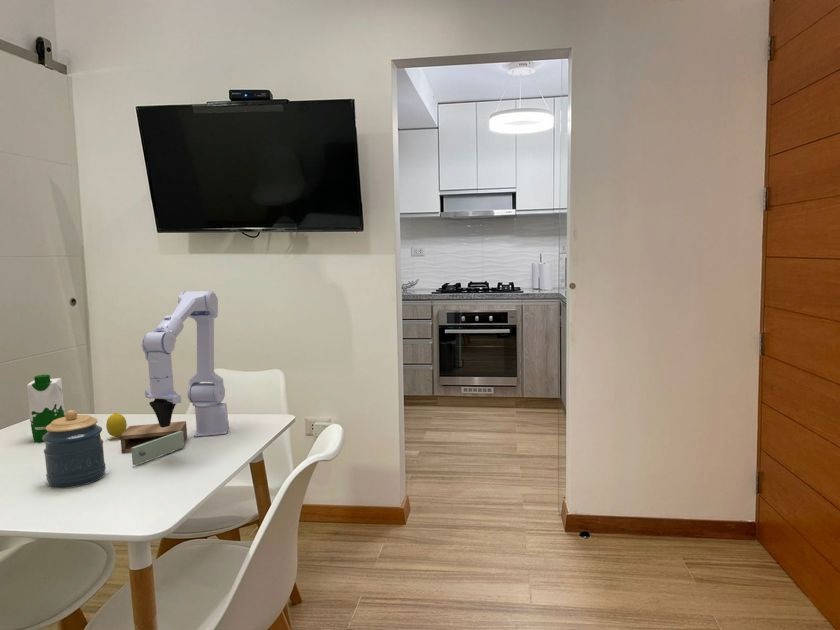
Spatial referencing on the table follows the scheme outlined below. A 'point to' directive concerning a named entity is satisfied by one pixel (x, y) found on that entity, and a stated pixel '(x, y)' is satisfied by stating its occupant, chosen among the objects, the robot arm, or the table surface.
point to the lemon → (116, 425)
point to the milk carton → (44, 404)
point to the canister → (73, 451)
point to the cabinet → (149, 434)
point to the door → (157, 447)
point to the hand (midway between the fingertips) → (165, 426)
